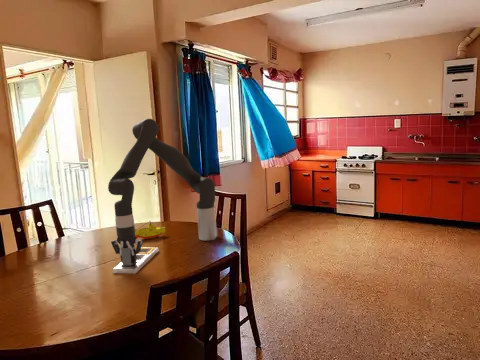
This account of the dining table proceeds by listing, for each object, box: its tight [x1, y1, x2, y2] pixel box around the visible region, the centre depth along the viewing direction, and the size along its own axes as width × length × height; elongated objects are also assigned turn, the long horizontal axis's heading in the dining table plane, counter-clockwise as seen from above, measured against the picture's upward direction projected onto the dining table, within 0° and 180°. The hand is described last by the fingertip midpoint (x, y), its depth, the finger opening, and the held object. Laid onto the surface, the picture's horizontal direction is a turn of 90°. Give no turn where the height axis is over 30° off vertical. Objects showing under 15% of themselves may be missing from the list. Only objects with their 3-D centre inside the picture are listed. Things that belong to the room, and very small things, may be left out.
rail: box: [112, 246, 159, 275], centre depth 159 cm, size 10×26×2 cm, turn 172°
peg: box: [121, 246, 136, 267], centre depth 151 cm, size 4×4×10 cm
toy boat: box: [135, 220, 166, 240], centre depth 192 cm, size 6×18×10 cm, turn 115°
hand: (129, 262), depth 151 cm, fingers closed on peg, 4 cm apart
